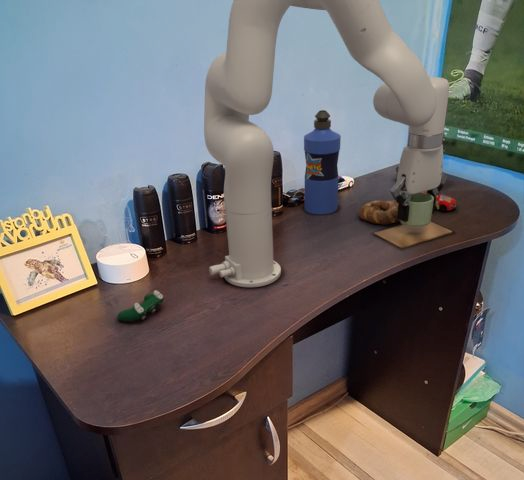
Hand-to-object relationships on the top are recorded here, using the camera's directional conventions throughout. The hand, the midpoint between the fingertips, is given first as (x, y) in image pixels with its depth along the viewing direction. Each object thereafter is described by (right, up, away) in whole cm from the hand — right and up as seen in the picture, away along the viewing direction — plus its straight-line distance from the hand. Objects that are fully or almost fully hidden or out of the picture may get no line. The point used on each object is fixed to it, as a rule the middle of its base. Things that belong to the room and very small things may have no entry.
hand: (415, 215), depth 130 cm
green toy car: (-60, -25, -23) cm, 69 cm away
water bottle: (-21, +7, +19) cm, 29 cm away
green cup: (0, -1, +1) cm, 1 cm away
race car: (+9, +7, +17) cm, 20 cm away
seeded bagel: (-6, +2, +11) cm, 13 cm away
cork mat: (0, -4, +3) cm, 5 cm away
